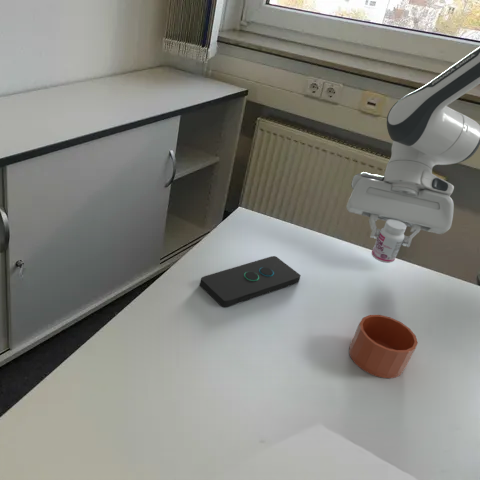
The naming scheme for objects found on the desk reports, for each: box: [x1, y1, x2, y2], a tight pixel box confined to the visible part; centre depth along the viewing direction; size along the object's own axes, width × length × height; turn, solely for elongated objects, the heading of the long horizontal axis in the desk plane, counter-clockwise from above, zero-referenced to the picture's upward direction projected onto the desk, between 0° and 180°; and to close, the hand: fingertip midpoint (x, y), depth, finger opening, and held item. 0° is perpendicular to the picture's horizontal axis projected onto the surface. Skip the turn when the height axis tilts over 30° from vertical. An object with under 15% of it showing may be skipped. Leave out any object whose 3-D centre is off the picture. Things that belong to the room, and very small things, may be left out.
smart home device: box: [199, 255, 301, 308], centre depth 108 cm, size 8×2×20 cm
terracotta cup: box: [348, 314, 419, 379], centre depth 91 cm, size 9×9×6 cm
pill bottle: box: [371, 219, 408, 264], centre depth 114 cm, size 5×5×8 cm
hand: (389, 241), depth 113 cm, fingers closed on pill bottle, 5 cm apart
